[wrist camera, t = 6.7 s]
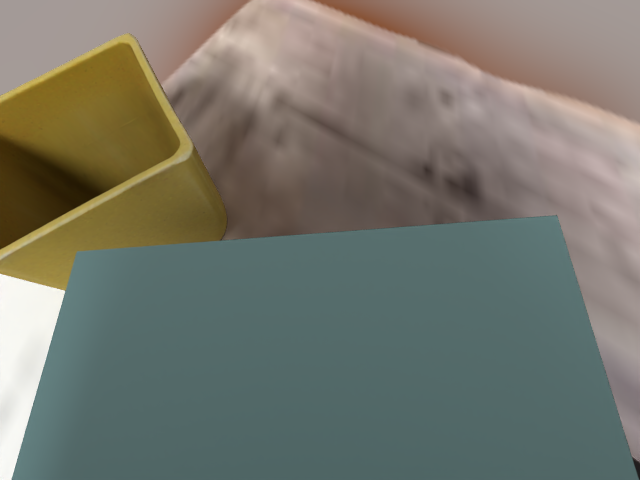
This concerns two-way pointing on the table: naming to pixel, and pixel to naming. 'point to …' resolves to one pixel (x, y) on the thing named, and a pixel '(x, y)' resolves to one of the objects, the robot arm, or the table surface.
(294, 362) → the block
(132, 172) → the flower pot
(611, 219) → the table surface
